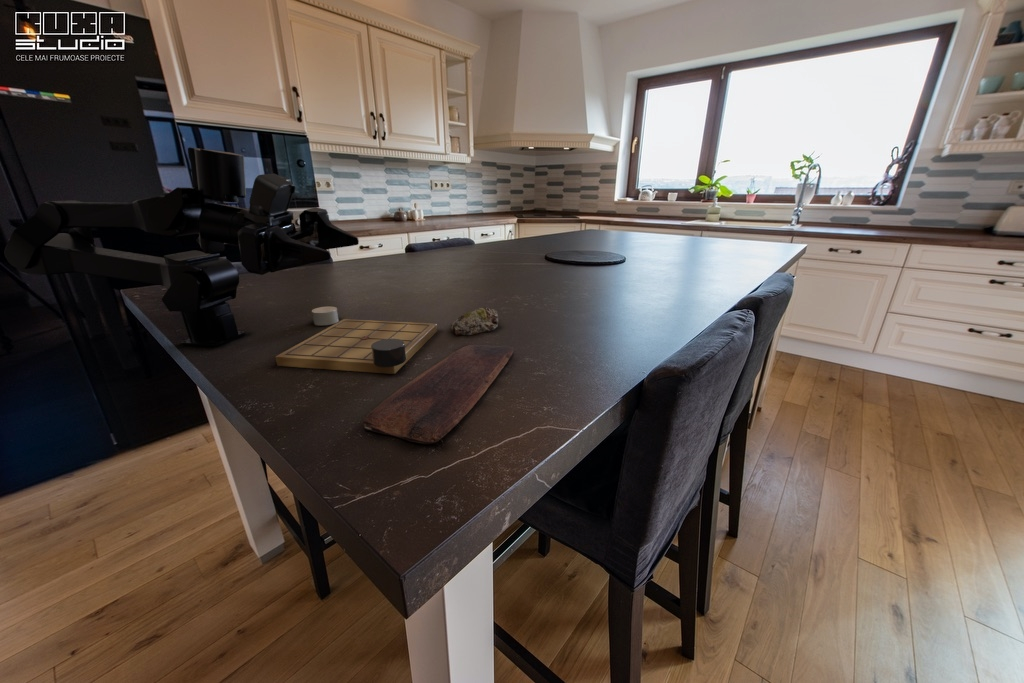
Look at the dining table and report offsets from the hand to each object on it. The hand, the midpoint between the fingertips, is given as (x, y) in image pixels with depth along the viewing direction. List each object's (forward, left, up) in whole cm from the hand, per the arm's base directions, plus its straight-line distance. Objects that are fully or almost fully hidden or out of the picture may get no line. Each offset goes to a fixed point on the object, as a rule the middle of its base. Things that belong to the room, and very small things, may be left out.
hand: (345, 248), depth 60 cm
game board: (+2, -1, -16) cm, 16 cm away
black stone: (+10, -9, -14) cm, 19 cm away
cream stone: (-12, +10, -16) cm, 22 cm away
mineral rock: (+17, +11, -16) cm, 25 cm away
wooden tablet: (+20, -12, -16) cm, 28 cm away
